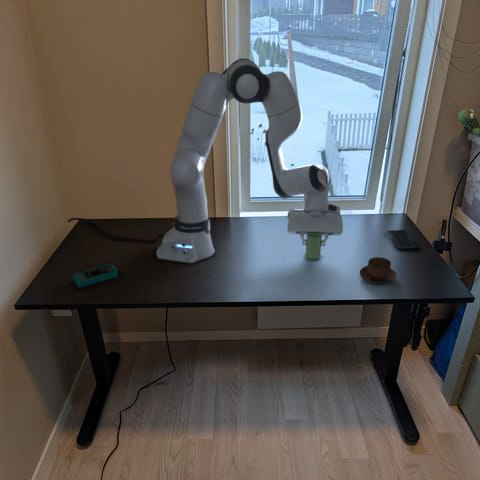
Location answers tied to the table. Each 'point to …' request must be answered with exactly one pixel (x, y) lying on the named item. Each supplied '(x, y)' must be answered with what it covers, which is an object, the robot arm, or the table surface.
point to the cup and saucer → (378, 271)
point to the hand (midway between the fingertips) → (313, 245)
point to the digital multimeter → (95, 275)
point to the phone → (401, 239)
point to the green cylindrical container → (313, 245)
